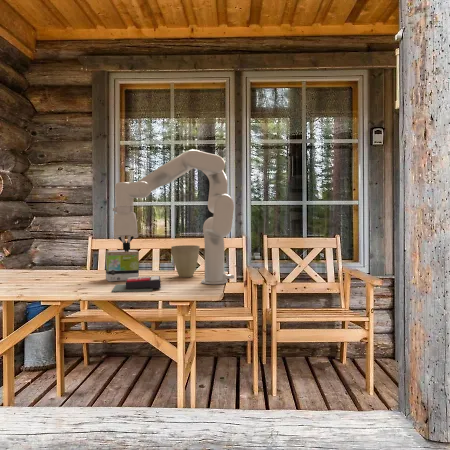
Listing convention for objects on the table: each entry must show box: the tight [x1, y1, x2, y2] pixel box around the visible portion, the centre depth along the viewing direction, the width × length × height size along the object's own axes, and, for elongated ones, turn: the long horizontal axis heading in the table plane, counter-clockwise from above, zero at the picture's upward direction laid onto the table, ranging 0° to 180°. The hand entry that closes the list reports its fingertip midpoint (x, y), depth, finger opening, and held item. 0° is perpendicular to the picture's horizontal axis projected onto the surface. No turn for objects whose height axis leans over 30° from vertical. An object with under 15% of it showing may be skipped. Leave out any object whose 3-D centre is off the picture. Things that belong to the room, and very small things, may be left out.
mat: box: [111, 283, 153, 293], centre depth 197 cm, size 17×16×1 cm
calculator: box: [125, 275, 162, 290], centre depth 198 cm, size 11×4×15 cm
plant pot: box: [171, 244, 201, 278], centre depth 233 cm, size 15×15×16 cm
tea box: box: [105, 249, 140, 282], centre depth 222 cm, size 15×10×15 cm, turn 112°
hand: (126, 251), depth 196 cm, fingers closed
